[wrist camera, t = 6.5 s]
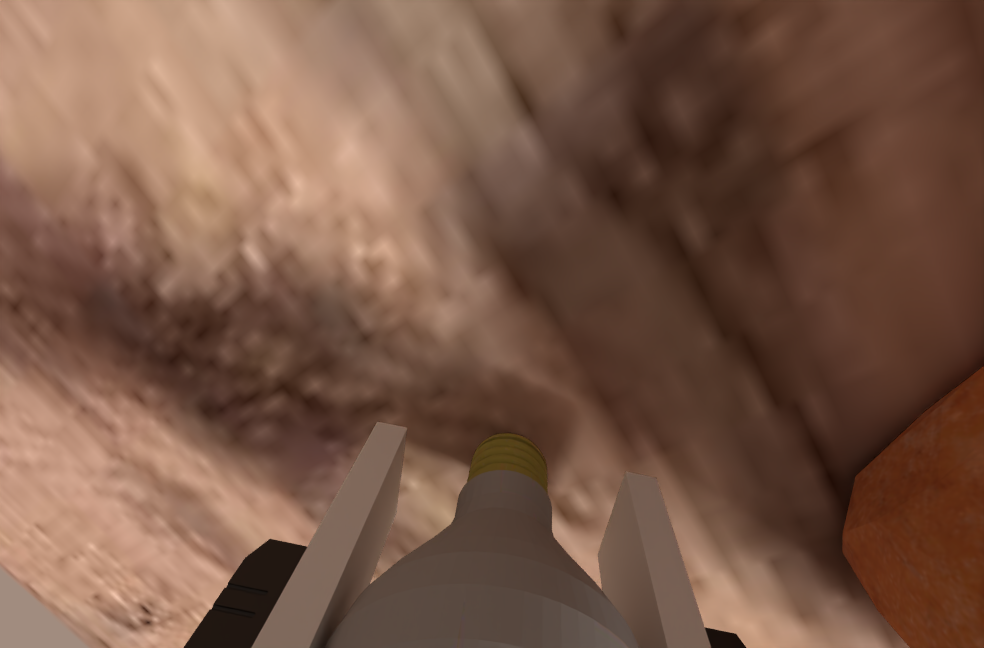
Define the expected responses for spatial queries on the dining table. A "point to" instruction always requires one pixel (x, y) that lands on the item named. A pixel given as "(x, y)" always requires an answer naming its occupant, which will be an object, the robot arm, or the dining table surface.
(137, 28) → the dining table surface
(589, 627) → the light bulb
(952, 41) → the dining table surface
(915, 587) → the bread
